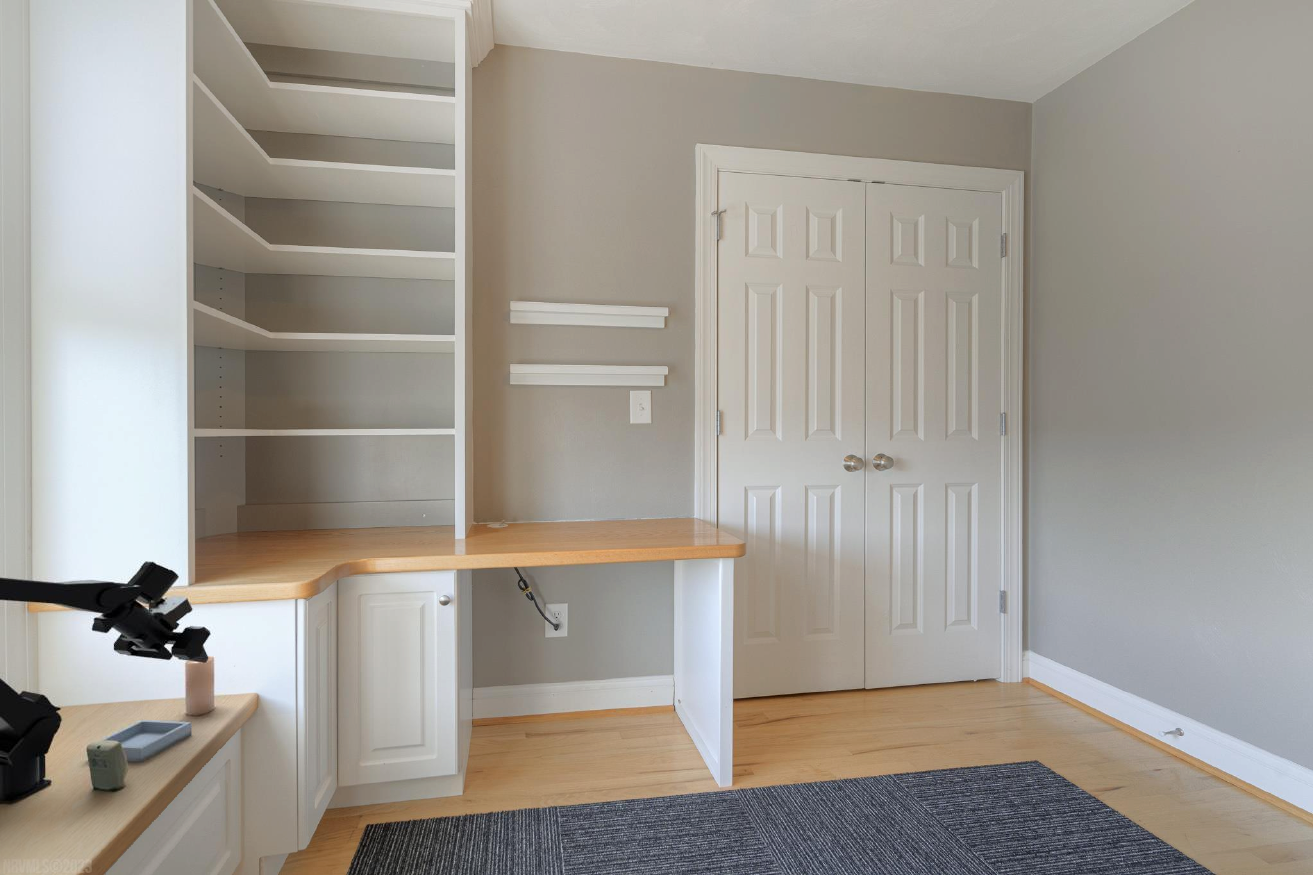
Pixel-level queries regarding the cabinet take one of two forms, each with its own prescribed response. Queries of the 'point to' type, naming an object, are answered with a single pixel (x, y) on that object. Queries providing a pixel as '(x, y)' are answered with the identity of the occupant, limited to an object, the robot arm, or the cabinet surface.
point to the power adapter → (107, 765)
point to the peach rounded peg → (199, 687)
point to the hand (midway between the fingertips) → (188, 659)
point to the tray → (149, 737)
